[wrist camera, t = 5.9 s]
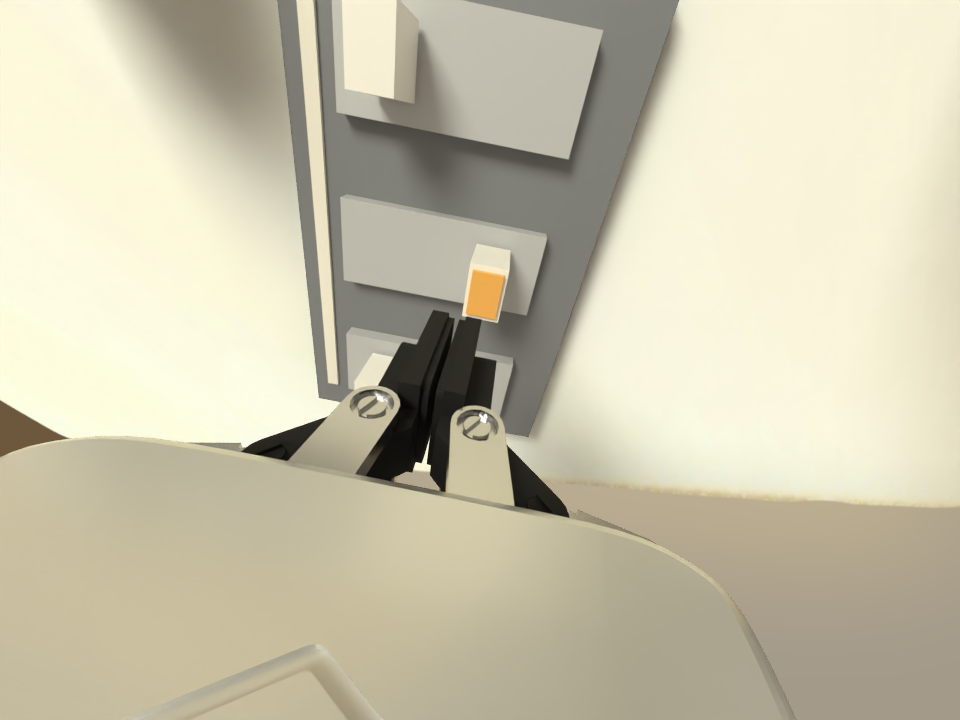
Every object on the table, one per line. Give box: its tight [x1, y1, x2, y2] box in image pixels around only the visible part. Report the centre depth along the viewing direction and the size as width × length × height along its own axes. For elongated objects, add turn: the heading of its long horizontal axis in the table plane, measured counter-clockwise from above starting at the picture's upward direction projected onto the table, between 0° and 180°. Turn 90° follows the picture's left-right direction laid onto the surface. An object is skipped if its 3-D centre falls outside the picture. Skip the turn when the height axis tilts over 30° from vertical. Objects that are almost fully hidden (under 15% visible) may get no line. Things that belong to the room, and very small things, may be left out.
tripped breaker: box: [462, 244, 511, 323], centre depth 20 cm, size 2×3×4 cm, turn 171°
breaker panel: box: [278, 0, 679, 437], centre depth 23 cm, size 18×28×3 cm, turn 170°
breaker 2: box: [354, 353, 393, 390], centre depth 25 cm, size 2×3×4 cm, turn 170°
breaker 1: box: [342, 0, 419, 104], centre depth 15 cm, size 2×3×4 cm, turn 170°
